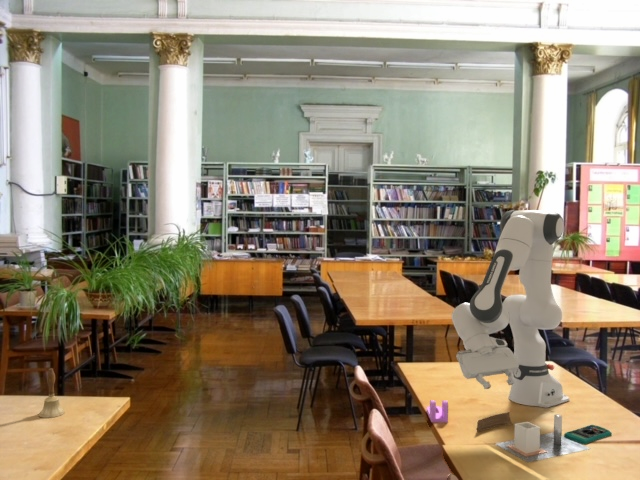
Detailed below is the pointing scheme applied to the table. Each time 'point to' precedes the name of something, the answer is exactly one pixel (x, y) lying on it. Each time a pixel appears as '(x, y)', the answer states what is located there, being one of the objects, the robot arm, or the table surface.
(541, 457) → the post plate
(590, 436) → the digital multimeter
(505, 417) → the brown bark piece
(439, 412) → the bracket
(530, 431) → the sleeve
